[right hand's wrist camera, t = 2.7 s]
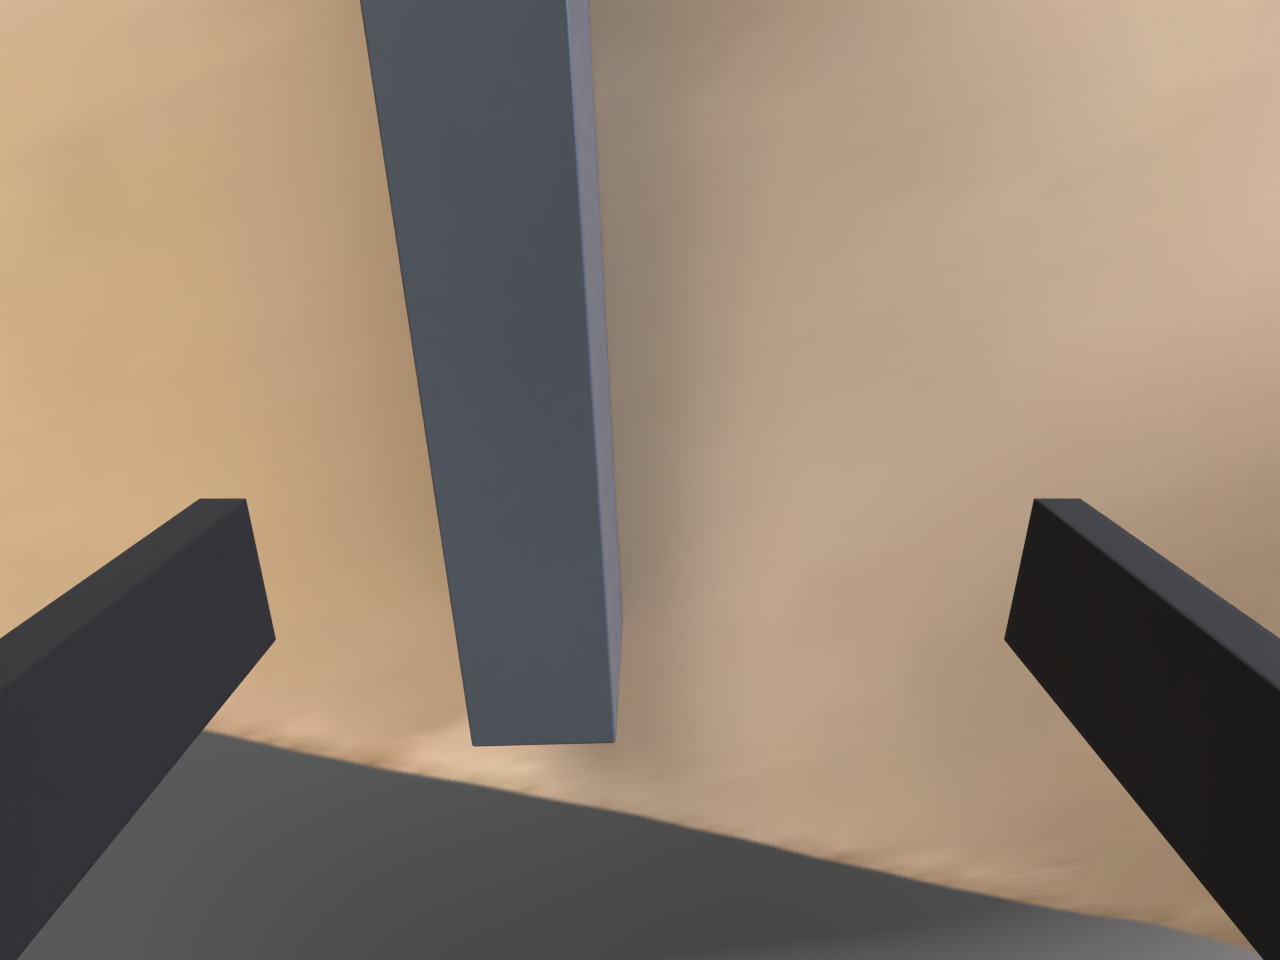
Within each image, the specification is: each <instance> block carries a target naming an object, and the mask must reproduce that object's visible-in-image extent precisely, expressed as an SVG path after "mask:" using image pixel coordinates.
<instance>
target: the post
mask: <svg viewBox="0 0 1280 960" xmlns="http://www.w3.org/2000/svg"><path fill="white" fill-rule="evenodd" d="M360 4H361V10H362V17H363V23H364V30H365V37H366V43H367V50H368V57H369V63H370V70H371V77H372V83H373V90H374V96H375V103H376V110H377V116H378V123H379V130H380V136H381V143H382V150H383V156H384V163H385V169H386V176H387V183H388V189H389V196H390V203H391V209H392V216H393V223H394V229H395V236H396V242H397V249H398V256H399V262H400V269H401V276H402V282H403V289H404V296H405V302H406V309H407V315H408V322H409V329H410V335H411V342H412V349H413V355H414V362H415V368H416V375H417V382H418V388H419V395H420V402H421V408H422V415H423V422H424V428H425V435H426V441H427V448H428V455H429V461H430V468H431V475H432V481H433V488H434V495H435V501H436V508H437V514H438V521H439V528H440V534H441V541H442V548H443V554H444V561H445V568H446V574H447V581H448V587H449V594H450V601H451V607H452V614H453V621H454V627H455V634H456V641H457V647H458V654H459V660H460V667H461V674H462V680H463V687H464V694H465V700H466V707H467V713H468V720H469V727H470V733H471V740H472V745H473V746H509V745H548V744H586V743H614V742H615V741H616V727H617V710H618V692H619V675H620V657H621V640H622V622H623V620H622V601H621V583H620V565H619V547H618V529H617V511H616V493H615V475H614V457H613V439H612V421H611V403H610V385H609V367H608V349H607V330H606V312H605V294H604V276H603V258H602V240H601V222H600V204H599V186H598V168H597V150H596V132H595V114H594V96H593V78H592V59H591V41H590V23H589V5H588V0H360Z"/></svg>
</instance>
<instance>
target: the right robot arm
mask: <svg viewBox="0 0 1280 960" xmlns="http://www.w3.org/2000/svg"><path fill="white" fill-rule="evenodd" d="M275 640H276V638H275V633H274V629H273V624H272V619H271V615H270V610H269V605H268V600H267V596H266V591H265V586H264V582H263V577H262V572H261V567H260V563H259V558H258V553H257V549H256V544H255V539H254V535H253V530H252V525H251V520H250V516H249V511H248V506H247V502H246V499H199V500H197V501H196V502H194V503H193V504H192V505H190V506H189V507H187V508H186V509H184V510H183V511H182V512H180V513H179V514H177V515H176V516H174V517H173V518H172V519H170V520H169V521H167V522H166V523H164V524H163V525H162V526H160V527H159V528H157V529H156V530H154V531H153V532H152V533H150V534H149V535H147V536H146V537H144V538H143V539H142V540H140V541H139V542H137V543H136V544H134V545H133V546H132V547H130V548H129V549H127V550H126V551H124V552H123V553H122V554H120V555H119V556H117V557H116V558H114V559H113V560H112V561H110V562H109V563H107V564H106V565H105V566H103V567H102V568H100V569H99V570H97V571H96V572H95V573H93V574H92V575H90V576H89V577H87V578H86V579H85V580H83V581H82V582H80V583H79V584H77V585H76V586H75V587H73V588H72V589H70V590H69V591H67V592H66V593H65V594H63V595H62V596H60V597H59V598H57V599H56V600H55V601H53V602H52V603H50V604H49V605H47V606H46V607H45V608H43V609H42V610H40V611H39V612H37V613H36V614H35V615H33V616H32V617H30V618H29V619H27V620H26V621H25V622H23V623H22V624H20V625H19V626H17V627H16V628H15V629H13V630H12V631H10V632H9V633H7V634H6V635H5V636H3V637H2V638H0V960H17V958H18V957H19V956H20V955H21V953H22V952H23V951H24V950H25V949H26V947H27V946H28V945H29V944H30V942H31V941H32V940H33V939H34V937H35V936H36V935H37V934H38V932H39V931H40V930H41V929H42V928H43V926H44V925H45V924H46V923H47V921H48V920H49V919H50V918H51V916H52V915H53V914H54V913H55V912H56V910H57V909H58V908H59V907H60V905H61V904H62V903H63V902H64V900H65V899H66V898H67V897H68V895H69V894H70V893H71V892H72V891H73V889H74V888H75V887H76V886H77V884H78V883H79V882H80V881H81V879H82V878H83V877H84V876H85V874H86V873H87V872H88V871H89V870H90V868H91V867H92V866H93V865H94V863H95V862H96V861H97V860H98V858H99V857H100V856H101V855H102V854H103V852H104V851H105V850H106V849H107V847H108V846H109V845H110V844H111V842H112V841H113V840H114V839H115V837H116V836H117V835H118V834H119V833H120V831H121V830H122V829H123V828H124V826H125V825H126V824H127V823H128V821H129V820H130V819H131V818H132V816H133V815H134V814H135V813H136V812H137V810H138V809H139V808H140V807H141V805H142V804H143V803H144V802H145V800H146V799H147V798H148V797H149V795H150V794H151V793H152V792H153V791H154V789H155V788H156V787H157V786H158V784H159V783H160V782H161V781H162V779H163V778H164V777H165V776H166V775H167V773H168V772H169V771H170V770H171V768H172V767H173V766H174V765H175V763H176V762H177V761H178V760H179V758H180V757H181V756H182V755H183V754H184V752H185V751H186V750H187V749H188V747H189V746H190V745H191V744H192V742H193V741H194V740H195V739H196V738H197V736H198V735H199V734H200V733H201V731H202V730H203V729H204V728H205V726H206V725H207V724H208V723H209V721H210V720H211V719H212V718H213V717H214V715H215V714H216V713H217V712H218V710H219V709H220V708H221V707H222V705H223V704H224V703H225V702H226V701H227V699H228V698H229V697H230V696H231V694H232V693H233V692H234V691H235V689H236V688H237V687H238V686H239V684H240V683H241V682H242V681H243V680H244V678H245V677H246V676H247V675H248V673H249V672H250V671H251V670H252V668H253V667H254V666H255V665H256V663H257V662H258V661H259V660H260V659H261V657H262V656H263V655H264V654H265V652H266V651H267V650H268V649H269V647H270V646H271V645H272V644H273V643H274V641H275ZM1004 640H1005V641H1006V643H1007V644H1008V645H1009V646H1010V647H1011V649H1012V650H1013V651H1014V652H1015V654H1016V655H1017V656H1018V657H1019V659H1020V660H1021V661H1022V662H1023V663H1024V665H1025V666H1026V667H1027V668H1028V670H1029V671H1030V672H1031V673H1032V675H1033V676H1034V677H1035V678H1036V680H1037V681H1038V682H1039V683H1040V684H1041V686H1042V687H1043V688H1044V689H1045V691H1046V692H1047V693H1048V694H1049V696H1050V697H1051V698H1052V699H1053V701H1054V702H1055V703H1056V704H1057V705H1058V707H1059V708H1060V709H1061V710H1062V712H1063V713H1064V714H1065V715H1066V717H1067V718H1068V719H1069V720H1070V721H1071V723H1072V724H1073V725H1074V726H1075V728H1076V729H1077V730H1078V731H1079V733H1080V734H1081V735H1082V736H1083V738H1084V739H1085V740H1086V741H1087V742H1088V744H1089V745H1090V746H1091V747H1092V749H1093V750H1094V751H1095V752H1096V754H1097V755H1098V756H1099V757H1100V758H1101V760H1102V761H1103V762H1104V763H1105V765H1106V766H1107V767H1108V768H1109V770H1110V771H1111V772H1112V773H1113V775H1114V776H1115V777H1116V778H1117V779H1118V781H1119V782H1120V783H1121V784H1122V786H1123V787H1124V788H1125V789H1126V791H1127V792H1128V793H1129V794H1130V796H1131V797H1132V798H1133V799H1134V800H1135V802H1136V803H1137V804H1138V805H1139V807H1140V808H1141V809H1142V810H1143V812H1144V813H1145V814H1146V815H1147V816H1148V818H1149V819H1150V820H1151V821H1152V823H1153V824H1154V825H1155V826H1156V828H1157V829H1158V830H1159V831H1160V833H1161V834H1162V835H1163V836H1164V837H1165V839H1166V840H1167V841H1168V842H1169V844H1170V845H1171V846H1172V847H1173V849H1174V850H1175V851H1176V852H1177V854H1178V855H1179V856H1180V857H1181V858H1182V860H1183V861H1184V862H1185V863H1186V865H1187V866H1188V867H1189V868H1190V870H1191V871H1192V872H1193V873H1194V874H1195V876H1196V877H1197V878H1198V879H1199V881H1200V882H1201V883H1202V884H1203V886H1204V887H1205V888H1206V889H1207V891H1208V892H1209V893H1210V894H1211V895H1212V897H1213V898H1214V899H1215V900H1216V902H1217V903H1218V904H1219V905H1220V907H1221V908H1222V909H1223V910H1224V912H1225V913H1226V914H1227V915H1228V916H1229V918H1230V919H1231V920H1232V921H1233V923H1234V924H1235V925H1236V926H1237V928H1238V929H1239V930H1240V931H1241V932H1242V934H1243V935H1244V936H1245V937H1246V939H1247V940H1248V941H1249V942H1250V944H1251V945H1252V946H1253V947H1254V949H1255V950H1256V951H1257V952H1258V953H1259V955H1260V956H1261V957H1262V958H1263V960H1280V638H1278V637H1277V636H1275V635H1274V634H1273V633H1271V632H1270V631H1268V630H1267V629H1265V628H1264V627H1263V626H1261V625H1260V624H1258V623H1257V622H1255V621H1254V620H1253V619H1251V618H1250V617H1248V616H1247V615H1245V614H1244V613H1243V612H1241V611H1240V610H1238V609H1237V608H1235V607H1234V606H1233V605H1231V604H1230V603H1228V602H1227V601H1225V600H1224V599H1223V598H1221V597H1220V596H1218V595H1217V594H1215V593H1214V592H1213V591H1211V590H1210V589H1208V588H1207V587H1205V586H1204V585H1203V584H1201V583H1200V582H1198V581H1197V580H1195V579H1194V578H1193V577H1191V576H1190V575H1188V574H1187V573H1185V572H1184V571H1183V570H1181V569H1180V568H1178V567H1177V566H1175V565H1174V564H1173V563H1171V562H1170V561H1168V560H1167V559H1166V558H1164V557H1163V556H1161V555H1160V554H1158V553H1157V552H1156V551H1154V550H1153V549H1151V548H1150V547H1148V546H1147V545H1146V544H1144V543H1143V542H1141V541H1140V540H1138V539H1137V538H1136V537H1134V536H1133V535H1131V534H1130V533H1128V532H1127V531H1126V530H1124V529H1123V528H1121V527H1120V526H1118V525H1117V524H1116V523H1114V522H1113V521H1111V520H1110V519H1108V518H1107V517H1106V516H1104V515H1103V514H1101V513H1100V512H1098V511H1097V510H1096V509H1094V508H1093V507H1091V506H1090V505H1088V504H1087V503H1086V502H1084V501H1083V500H1081V499H1034V502H1033V506H1032V511H1031V516H1030V520H1029V525H1028V530H1027V535H1026V539H1025V544H1024V549H1023V553H1022V558H1021V563H1020V567H1019V572H1018V577H1017V582H1016V586H1015V591H1014V596H1013V600H1012V605H1011V610H1010V615H1009V619H1008V624H1007V629H1006V633H1005V638H1004Z"/></svg>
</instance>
